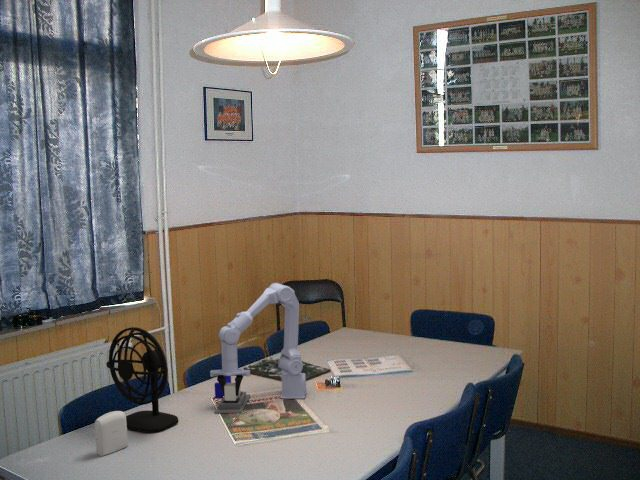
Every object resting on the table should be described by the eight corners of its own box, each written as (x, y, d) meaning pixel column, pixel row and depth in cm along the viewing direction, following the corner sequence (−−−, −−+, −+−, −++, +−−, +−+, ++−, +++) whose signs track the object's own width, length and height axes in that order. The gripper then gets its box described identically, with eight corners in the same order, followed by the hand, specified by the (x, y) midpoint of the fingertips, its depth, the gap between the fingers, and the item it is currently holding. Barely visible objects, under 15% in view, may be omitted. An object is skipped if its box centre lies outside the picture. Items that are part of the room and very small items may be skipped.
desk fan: (99, 426, 252) (93, 327, 248) (136, 410, 266) (131, 317, 263) (157, 439, 238) (151, 335, 234) (192, 422, 252) (188, 324, 249)
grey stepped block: (250, 395, 280) (249, 380, 280) (242, 413, 260) (241, 397, 260) (224, 395, 281) (224, 380, 280) (214, 413, 261) (213, 397, 260)
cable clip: (220, 389, 290) (220, 374, 290) (231, 389, 290) (231, 374, 289) (211, 398, 279) (210, 383, 278) (222, 399, 278) (222, 383, 277)
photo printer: (102, 457, 224) (99, 418, 223) (94, 454, 227) (92, 416, 226) (130, 447, 232) (128, 409, 231) (122, 444, 235) (120, 407, 233)
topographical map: (296, 386, 293) (296, 379, 292) (239, 373, 313) (239, 366, 313) (335, 371, 313) (335, 364, 312) (279, 359, 333) (279, 353, 333)
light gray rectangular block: (237, 397, 269) (236, 382, 268) (235, 400, 265) (235, 386, 264) (226, 397, 269) (226, 382, 268) (224, 400, 265) (224, 386, 264)
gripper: (207, 362, 262) (209, 398, 263) (247, 361, 261) (248, 398, 262) (211, 357, 269) (213, 392, 270) (250, 356, 268) (251, 392, 269)
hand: (231, 395), depth 267 cm, fingers closed on light gray rectangular block, 4 cm apart
